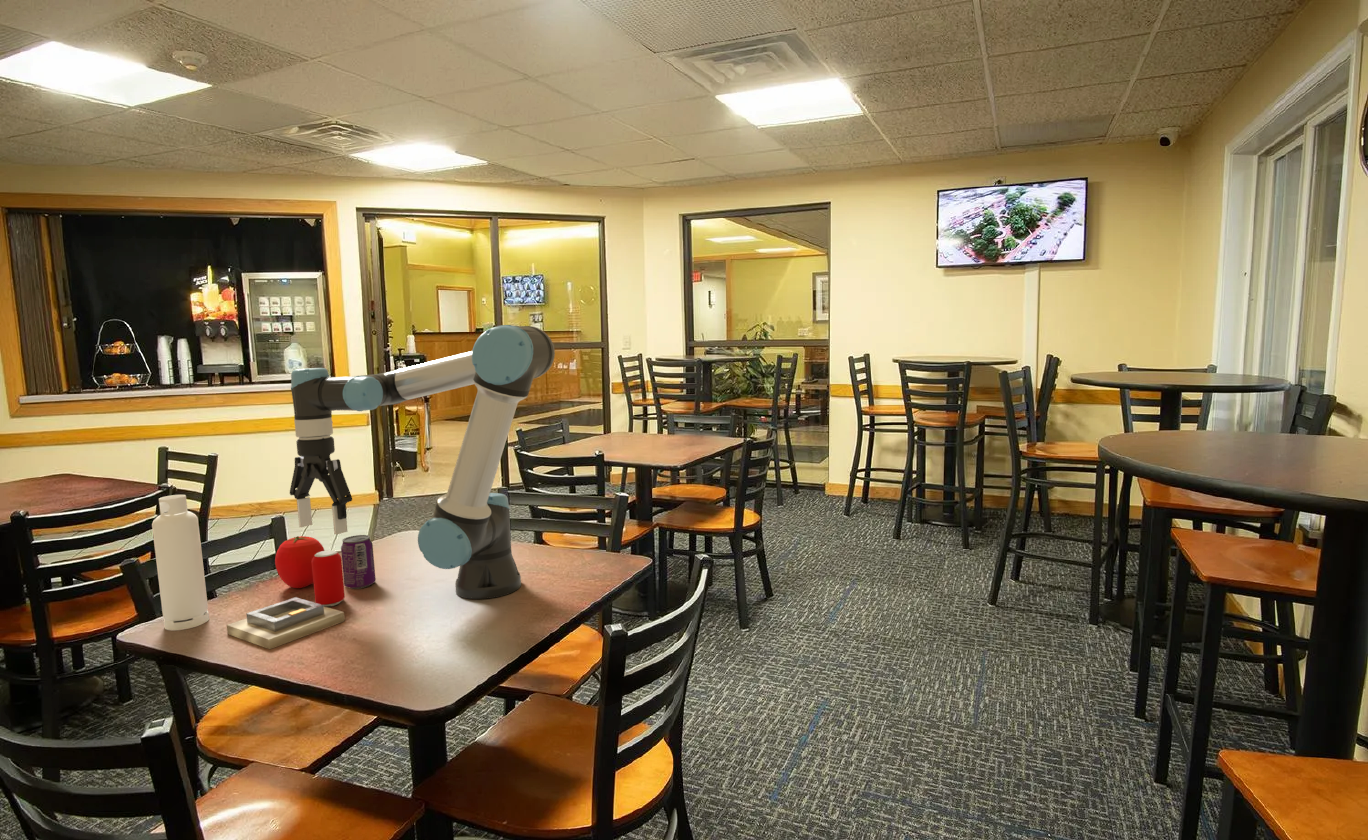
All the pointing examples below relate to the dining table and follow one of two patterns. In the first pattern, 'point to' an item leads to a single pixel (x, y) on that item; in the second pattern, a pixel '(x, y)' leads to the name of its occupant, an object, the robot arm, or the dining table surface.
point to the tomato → (297, 560)
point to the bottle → (179, 564)
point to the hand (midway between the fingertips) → (323, 529)
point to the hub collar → (302, 613)
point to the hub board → (285, 635)
